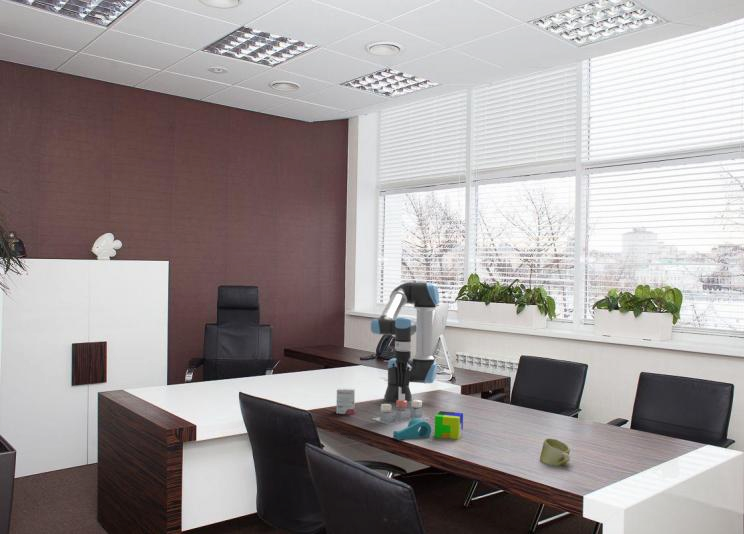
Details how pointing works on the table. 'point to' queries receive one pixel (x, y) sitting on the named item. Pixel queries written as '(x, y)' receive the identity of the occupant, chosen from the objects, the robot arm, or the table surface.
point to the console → (400, 416)
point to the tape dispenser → (414, 430)
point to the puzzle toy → (449, 425)
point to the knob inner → (416, 403)
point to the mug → (554, 452)
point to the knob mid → (401, 404)
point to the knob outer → (386, 408)
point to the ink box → (345, 401)
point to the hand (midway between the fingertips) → (401, 400)
